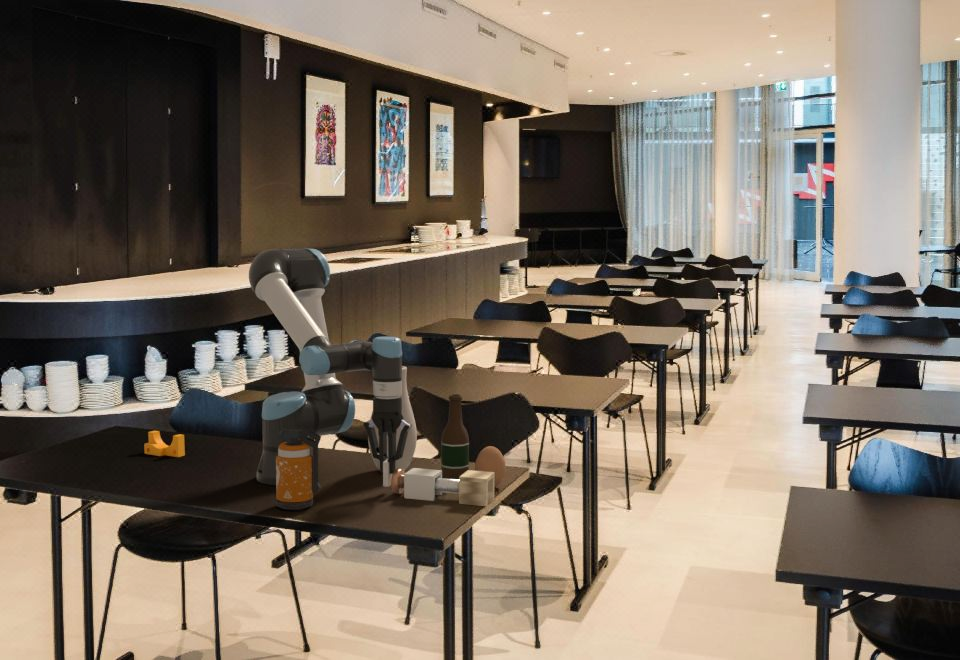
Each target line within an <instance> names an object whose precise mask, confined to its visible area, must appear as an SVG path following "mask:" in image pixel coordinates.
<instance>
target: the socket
mask: <svg viewBox="0 0 960 660" xmlns="http://www.w3.org/2000/svg"><path fill="white" fill-rule="evenodd" d="M494 481H495V472H485V471H475V470H472V469H471V470H470V469H469V470H467V471H466V472H465V473H463V474H462V475H461V476H460V477H459V495H458V504H459V505H469V506H479V507H487V506H488V505H489V504H491V502H492V501H493V500H495V487H494Z"/></svg>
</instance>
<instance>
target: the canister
mask: <svg viewBox="0 0 960 660" xmlns="http://www.w3.org/2000/svg"><path fill="white" fill-rule="evenodd" d="M283 435H284V440H288V441H287V442H284V443H281V444H280V445H279V447H278V456H277V457H276V485H275V486H276V487H275V488H276V496H275V497H276V506H277V507H278V508H281V509H283V510H286V511H299V510H304V509H307V508H309V507H311V506H312V505H313V504H314V499H313V498H314V493H316V492H317V491H318V490H320V489H321V486H322V485H321V484H320V482H319V457H320V455H319V453H320V451H319V444H320V441H321V438H322V436H319V435H318V434H316V433H314V432H313V431H311V430H310V429H308V428H306V427H304V428H303V429H288V428H284V430H283V431H280V432H279V433H278V436H279V437H282V436H283ZM307 435H308V436H309V437H310V438H308V437H307ZM311 448H312V454H311Z"/></svg>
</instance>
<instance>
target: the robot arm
mask: <svg viewBox="0 0 960 660" xmlns="http://www.w3.org/2000/svg"><path fill="white" fill-rule="evenodd" d="M330 276H331V269H330V265H329V262H328V259H327V258H326V256H325V255H324V254H323V252H321V251H320V250H318V249H315V248H308V247H300V248H271V249H266V250H263V251H261V252H260V253H258V254H257V255H256V256H255V257H254V258H253V260H252V262H251V264H250V267H249V270H248V280H249V284H250V288H251V289H252V290H251V291H253V293H254V295H255V296H256V298H258V299H259V300H261V301H264V302H265V303H266V305H267V306H268V307H269V309H270V310H271V311H272V313H273V314H274V316H275V317H276V319H277V320H278V321H279V323H280V324H281V326H282V327H283V328H284V330H285V332H287V334H288V335H289V337H290V338H291V340H292V341H293V342H294V344H295V345H296V347H297V348H298V350H299V358H298V359H299V362H298V363H299V365H300V368H301V371H302V372H303V376H304V382H305V385H304V387H303V388H302V390H301V391H283V392H278V393H275V394H272V395H270V396H268V397H266V398H265V400H263V402H262V410H261V419H262V423H261V424H262V426H261V427H262V454H261V457H260V460H259V463H258V466H257V470H256V481H257V482H258V483H261V484H264V485H269V486H276V457H277V456H278V447H279V445H280V444H281V443H284V442H287V441H288V440H284V435H283V436H282V437H279V436H278V433H279V432H280V431H283V430H284V428H288V429H303V428H304V427H306V428H308V429H310V430H311V431H313V432H314V433H316V434H318V435H319V436H321V437H323V436H328V435H331V436H333V435H336V434H339V433H343V432H346V431H348V430H349V428H350V427H351V426H352V425H353V422H354V420H355V415H356V404H355V400H354V397H353V396H352V394H351V392H349V391H347V390H344V385H343V383H342V382H341V381H339V380H338V379H337V378H336V374H339V373H346V372H347V373H349V372H355V371H356V372H357V371H370V372H372V395H373V396H374V397H373V399H372V411H373V415H372V414H371V415H372V419H371V418H369V419H368V420H366V421H365V422H363V423H362V424H363V425H362V426H363V427H364V428H365V430H366V433H367V439H368V438H369V442H370V446H371V451H372V455H373V458H377V459H378V460H379V461H380V470H379V473H381V474H382V486H383V487H385V488H387V487H388V488H389V487H390V486H391V480H392V475H393V472H394V470H395V461H396V460H399V459H400V458H402V456H403V452H404V448H405V443H406V439H407V435H408V431H409V430H410V428H411V427H412V424H410V423H409V424H408V423H407V422H405V421H404V420H403V419H404V418H403V416H402V398H401V397H400V395H402V366H403V349H402V347H403V346H402V340H401V338H399V337H397V336H386V335H385V336H377V337H374V338H373V339H372V342H371V341H367V340H363V339H360V340H359V339H358V340H356V339H354V340H351V341H349V342H343V343H333V344H332V343H331V341H330V339H329V335H328V329H327V323H326V319H325V314H324V307H323V306H324V305H323V303H322V302H323V301H322V296H323V295H324V294H325V291H326V289H325V287H326V286H327V285H329V283H330ZM374 424H375V425H376V427H377V428H378V435H379V445H378V441H377V436H376V432H375V428H374ZM400 425H401V429H402V431H401V433H400V437H399V441H398V446H397V450H396V434H397V429H398V427H399V426H400ZM387 435H388V457H387ZM307 437H308V438H310V439H311V437H309V436H308V435H307ZM387 458H388V460H386V459H387Z"/></svg>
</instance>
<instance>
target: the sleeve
mask: <svg viewBox="0 0 960 660" xmlns="http://www.w3.org/2000/svg"><path fill="white" fill-rule="evenodd" d="M435 478H442V470H441V469H433V468H432V469H430V468H420V467H412V468H410V469H409V470H408V471H405V474H404V491H403V492H404V493H403V497H404V499H411V500H412V499H413V500H419V501H420V500H421V501H431V502H433V501H436V496H441V495H443V492H435Z"/></svg>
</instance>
